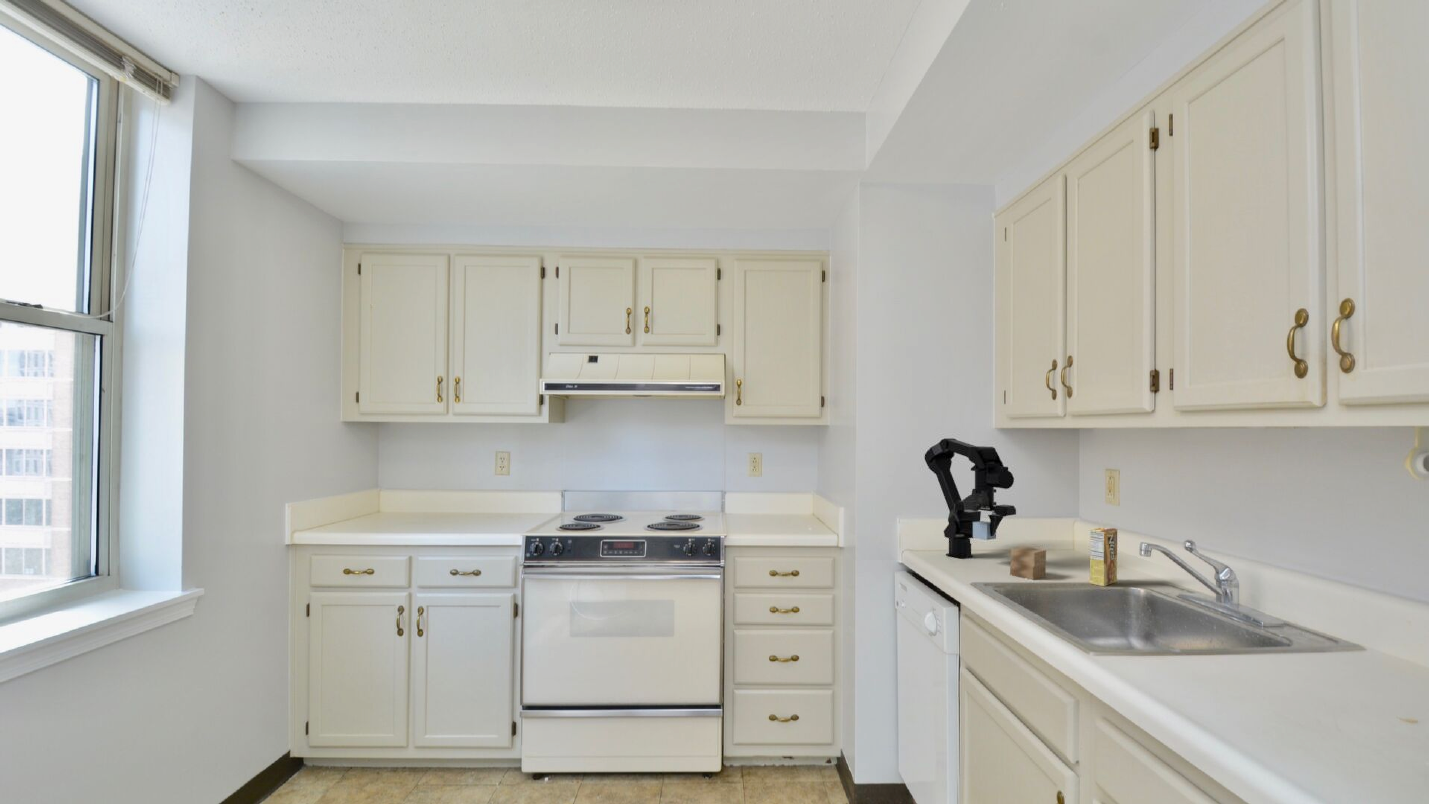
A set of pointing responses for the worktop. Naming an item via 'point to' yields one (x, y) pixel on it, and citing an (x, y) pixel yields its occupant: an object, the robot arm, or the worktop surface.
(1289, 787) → the worktop surface
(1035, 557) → the tower top
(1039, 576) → the tower base
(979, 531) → the blue block
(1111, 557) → the candy box
